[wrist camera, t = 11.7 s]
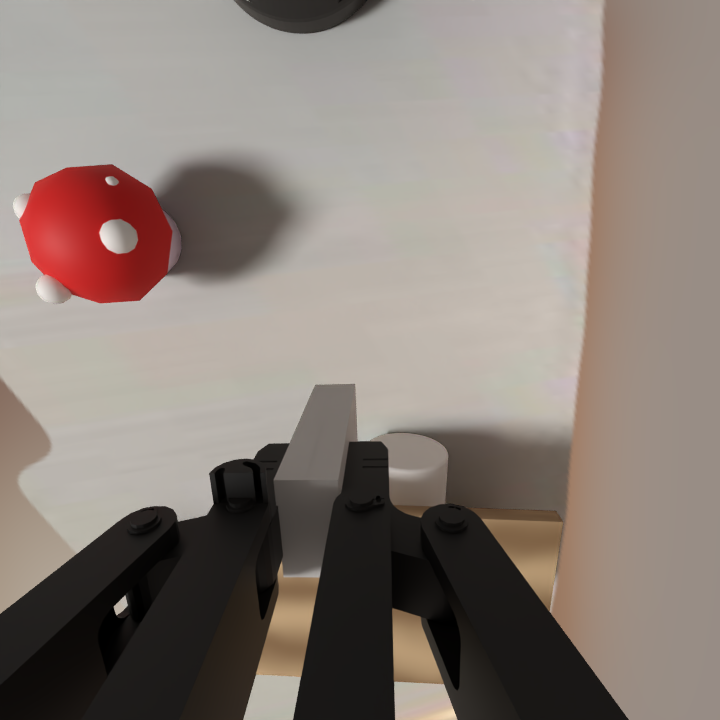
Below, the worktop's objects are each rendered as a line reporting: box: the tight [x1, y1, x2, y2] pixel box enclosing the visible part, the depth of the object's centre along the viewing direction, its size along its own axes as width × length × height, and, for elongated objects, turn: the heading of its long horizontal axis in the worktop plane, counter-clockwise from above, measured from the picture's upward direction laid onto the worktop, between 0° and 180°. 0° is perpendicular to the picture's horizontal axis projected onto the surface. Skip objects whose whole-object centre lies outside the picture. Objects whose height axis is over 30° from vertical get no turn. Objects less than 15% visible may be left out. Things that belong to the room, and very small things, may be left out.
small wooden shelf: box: [256, 505, 563, 684], centre depth 41 cm, size 16×24×13 cm, turn 89°
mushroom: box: [13, 164, 182, 304], centre depth 35 cm, size 11×11×12 cm
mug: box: [370, 433, 448, 506], centre depth 43 cm, size 12×10×8 cm
